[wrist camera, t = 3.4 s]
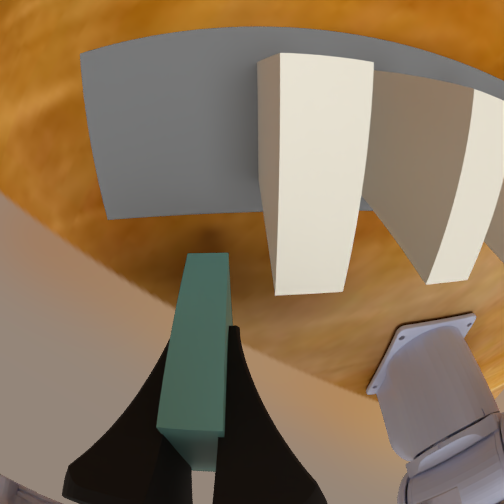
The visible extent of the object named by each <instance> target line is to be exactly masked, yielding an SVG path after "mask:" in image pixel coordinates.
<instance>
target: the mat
mask: <svg viewBox="0 0 504 504" xmlns="http://www.w3.org/2000/svg"><path fill="white" fill-rule="evenodd" d="M278 53H298V54H313V55H324V56H334V57H342V58H350V59H357V60H364V61H370V62H374V70H376V71H385V72H393V73H400V74H407V75H413V76H419V77H425V78H430V79H435V80H440V81H444V82H449V83H453V84H457V85H461V86H465V87H469V88H473V89H476V90H479V91H481V92H484V93H487V94H489V95H492V96H494V97H496V98H499V99H501V100H504V81H502V80H500V79H498V78H496V77H494V76H492V75H489V74H487V73H485V72H483V71H480V70H478V69H476V68H473V67H471V66H468V65H465V64H463V63H460V62H458V61H455V60H452V59H449V58H446V57H443V56H440V55H437V54H434V53H431V52H428V51H424V50H421V49H418V48H414V47H410V46H407V45H403V44H399V43H395V42H390V41H386V40H381V39H376V38H371V37H366V36H360V35H355V34H348V33H341V32H334V31H326V30H316V29H305V28H289V27H227V28H211V29H200V30H190V31H182V32H174V33H168V34H161V35H155V36H150V37H144V38H139V39H134V40H130V41H125V42H121V43H117V44H113V45H109V46H105V47H101V48H98V49H94V50H91V51H88V52H84V53H81V54H80V61H81V73H82V84H83V93H84V101H85V109H86V116H87V123H88V129H89V135H90V141H91V147H92V152H93V157H94V162H95V167H96V172H97V177H98V181H99V186H100V190H101V194H102V199H103V203H104V207H105V211H106V215H107V218H108V220H112V219H125V218H139V217H154V216H171V215H189V214H210V213H234V212H263V207H262V200H261V193H260V187H259V174H258V88H257V62H259V61H261V60H263V59H266V58H268V57H271V56H273V55H276V54H278ZM359 210H368V211H373V209H372V208H371V207H370V206H369V204H368V203H367V202H366V201H365V199H364V198H363V197H362V196H361V200H360V207H359Z"/></svg>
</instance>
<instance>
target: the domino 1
mask: <svg viewBox="0 0 504 504" xmlns="http://www.w3.org/2000/svg"><path fill="white" fill-rule="evenodd" d="M229 326H233V322H232V306H231V289H230V271H229V253H188V254H187V259H186V263H185V268H184V272H183V277H182V281H181V286H180V291H179V296H178V300H177V305H176V310H175V315H174V321H173V326H172V331H171V337H170V342H169V347H168V353H167V359H166V365H165V371H164V377H163V383H162V390H161V396H160V403H159V410H158V417H157V425H156V428H157V429H158V430H159V432H160V433H161V434H163V435H164V436H165V437H166V438H167V440H168V441H169V442H170V443H171V444H172V446H173V447H174V448H175V449H176V450H177V451H178V453H179V454H180V455H181V456H182V457H183V458H184V459H185V461H186V462H187V463H188V464H189V465H190V466H191V470H193V471H213V472H216V460H217V447H218V437H224V435H225V408H226V378H227V351H228V331H229Z"/></svg>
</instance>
